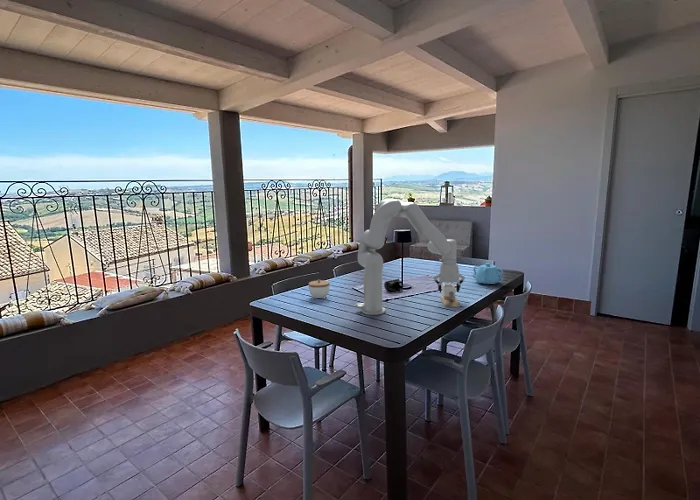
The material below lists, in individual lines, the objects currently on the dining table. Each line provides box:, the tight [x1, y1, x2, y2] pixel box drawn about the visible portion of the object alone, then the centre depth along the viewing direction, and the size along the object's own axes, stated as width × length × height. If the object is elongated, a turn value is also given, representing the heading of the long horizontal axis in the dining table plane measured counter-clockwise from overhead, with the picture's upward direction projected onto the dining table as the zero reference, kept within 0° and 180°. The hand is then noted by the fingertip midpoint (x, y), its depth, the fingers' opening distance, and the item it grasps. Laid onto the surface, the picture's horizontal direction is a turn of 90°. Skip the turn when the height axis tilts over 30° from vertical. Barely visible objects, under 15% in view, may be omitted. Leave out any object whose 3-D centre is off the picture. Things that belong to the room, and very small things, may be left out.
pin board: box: [440, 292, 461, 308], centre depth 201 cm, size 8×14×7 cm, turn 175°
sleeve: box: [441, 283, 456, 299], centre depth 205 cm, size 6×6×7 cm
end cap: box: [383, 278, 404, 293], centre depth 231 cm, size 10×7×7 cm
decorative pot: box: [472, 262, 504, 285], centre depth 242 cm, size 16×16×14 cm
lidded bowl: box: [308, 279, 331, 299], centre depth 219 cm, size 13×13×11 cm
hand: (448, 291), depth 205 cm, fingers open, 9 cm apart
